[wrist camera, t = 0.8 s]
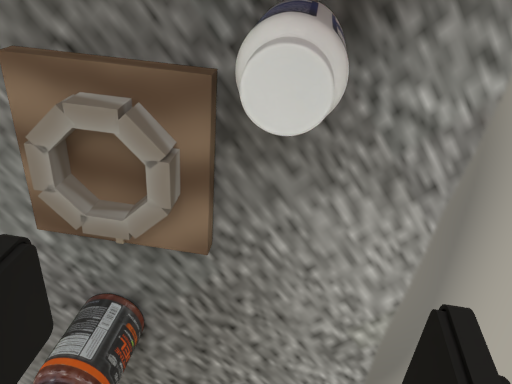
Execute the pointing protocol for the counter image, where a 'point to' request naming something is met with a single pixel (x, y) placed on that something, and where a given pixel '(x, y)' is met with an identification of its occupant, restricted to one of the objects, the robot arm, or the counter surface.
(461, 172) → the counter surface
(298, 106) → the pill bottle
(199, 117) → the hub board
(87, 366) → the supplement bottle
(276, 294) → the counter surface
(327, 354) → the counter surface
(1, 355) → the robot arm
